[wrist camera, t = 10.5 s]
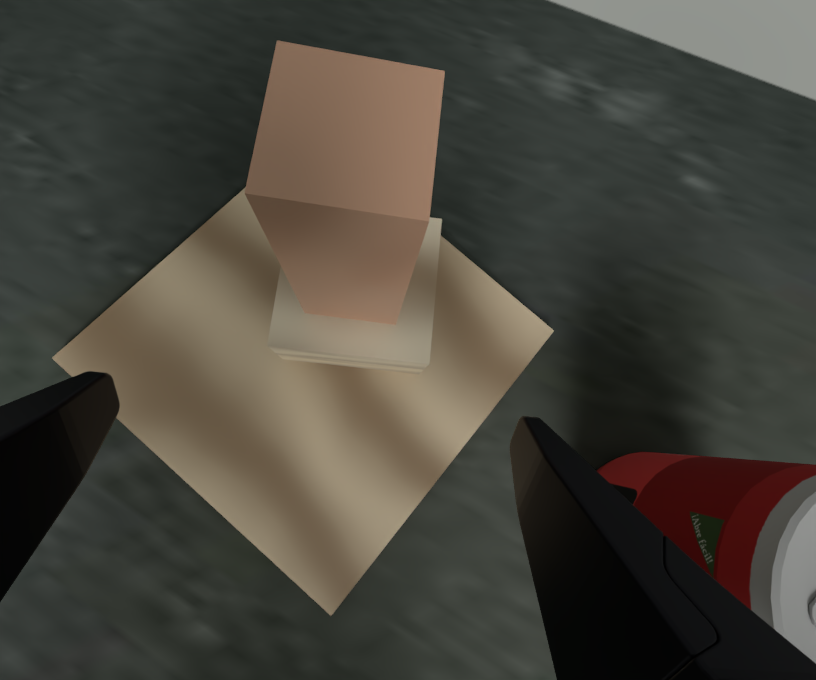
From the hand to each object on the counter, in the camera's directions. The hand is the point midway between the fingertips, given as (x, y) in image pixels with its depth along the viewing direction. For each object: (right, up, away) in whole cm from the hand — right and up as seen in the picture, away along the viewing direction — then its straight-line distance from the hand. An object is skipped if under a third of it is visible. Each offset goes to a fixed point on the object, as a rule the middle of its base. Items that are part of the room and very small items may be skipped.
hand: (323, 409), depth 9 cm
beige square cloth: (-3, +1, +13) cm, 13 cm away
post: (0, +4, +9) cm, 10 cm away
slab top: (0, +4, +11) cm, 12 cm away
